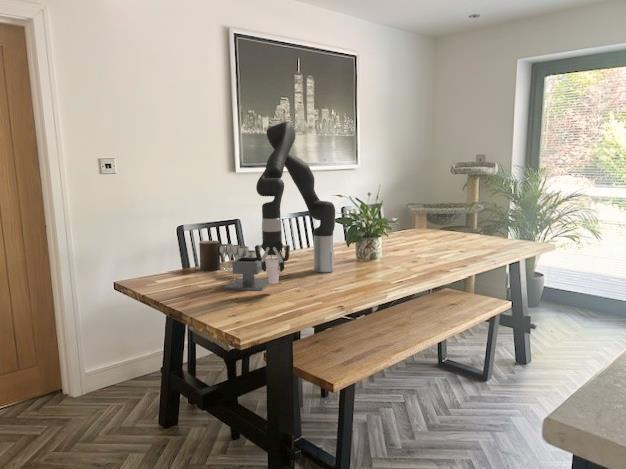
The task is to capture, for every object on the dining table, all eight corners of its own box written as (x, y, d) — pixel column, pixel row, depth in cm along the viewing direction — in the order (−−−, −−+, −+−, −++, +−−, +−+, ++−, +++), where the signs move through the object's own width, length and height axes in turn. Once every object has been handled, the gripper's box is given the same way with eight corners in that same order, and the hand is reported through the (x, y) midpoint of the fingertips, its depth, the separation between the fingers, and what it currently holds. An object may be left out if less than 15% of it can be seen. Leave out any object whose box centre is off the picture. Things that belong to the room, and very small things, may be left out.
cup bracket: (271, 281, 214) (270, 256, 212) (262, 290, 198) (261, 264, 196) (236, 280, 216) (235, 255, 214) (224, 289, 200) (223, 263, 199)
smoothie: (265, 280, 197) (264, 246, 195) (281, 280, 197) (280, 246, 195) (265, 284, 190) (264, 249, 188) (281, 284, 191) (280, 249, 189)
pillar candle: (216, 272, 232) (215, 240, 230) (196, 271, 234) (195, 240, 232) (223, 267, 241) (222, 237, 239) (204, 267, 243) (203, 237, 241)
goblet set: (259, 276, 222) (258, 248, 220) (249, 279, 218) (248, 249, 216) (225, 267, 242) (224, 241, 240) (215, 269, 238) (214, 242, 236)
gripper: (291, 228, 193) (292, 269, 196) (256, 227, 195) (257, 268, 198) (287, 230, 186) (289, 273, 188) (251, 230, 188) (252, 273, 191)
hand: (273, 271), depth 193 cm, fingers closed on smoothie, 6 cm apart
